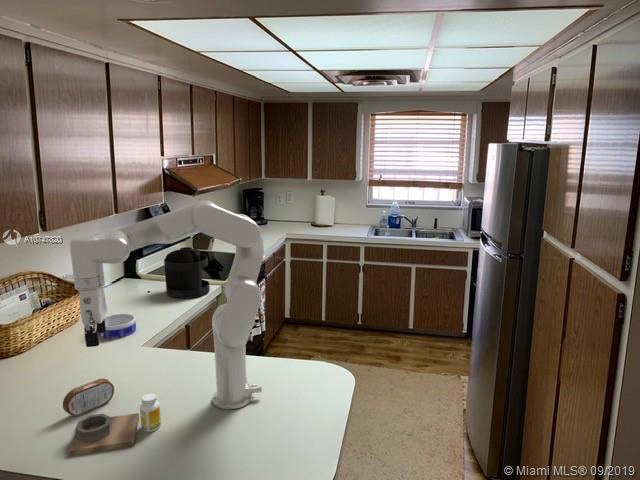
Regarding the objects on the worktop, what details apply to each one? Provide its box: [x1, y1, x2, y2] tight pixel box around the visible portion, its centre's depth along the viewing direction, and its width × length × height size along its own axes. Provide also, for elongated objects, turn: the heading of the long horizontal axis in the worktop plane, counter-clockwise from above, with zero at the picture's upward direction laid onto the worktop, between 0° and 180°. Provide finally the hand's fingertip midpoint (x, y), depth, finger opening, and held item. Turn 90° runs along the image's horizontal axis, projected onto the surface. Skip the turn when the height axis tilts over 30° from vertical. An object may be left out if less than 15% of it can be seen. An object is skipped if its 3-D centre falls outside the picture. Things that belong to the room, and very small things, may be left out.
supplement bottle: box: [139, 393, 162, 433], centre depth 138 cm, size 5×5×10 cm
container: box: [163, 246, 211, 299], centre depth 258 cm, size 22×23×25 cm
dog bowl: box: [98, 313, 137, 340], centre depth 207 cm, size 15×15×6 cm
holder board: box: [68, 412, 140, 457], centre depth 134 cm, size 16×14×4 cm
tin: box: [62, 378, 115, 417], centre depth 147 cm, size 15×3×8 cm, turn 141°
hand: (96, 339), depth 135 cm, fingers open, 9 cm apart
